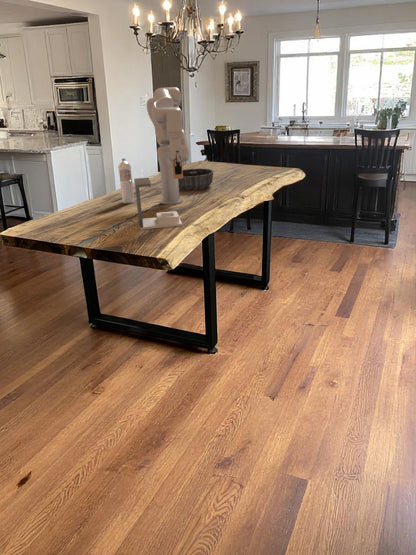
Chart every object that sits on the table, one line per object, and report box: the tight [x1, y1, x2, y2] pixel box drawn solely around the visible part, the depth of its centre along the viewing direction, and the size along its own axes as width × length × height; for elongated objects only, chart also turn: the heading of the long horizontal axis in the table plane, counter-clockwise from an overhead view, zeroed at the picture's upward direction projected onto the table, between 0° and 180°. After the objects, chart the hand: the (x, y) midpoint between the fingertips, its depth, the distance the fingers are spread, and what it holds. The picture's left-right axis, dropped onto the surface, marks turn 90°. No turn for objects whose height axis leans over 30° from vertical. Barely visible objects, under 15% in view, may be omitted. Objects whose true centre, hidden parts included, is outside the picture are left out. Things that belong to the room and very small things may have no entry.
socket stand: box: [138, 210, 183, 231], centre depth 226 cm, size 15×20×4 cm
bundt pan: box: [178, 168, 215, 191], centre depth 295 cm, size 26×26×10 cm
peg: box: [172, 159, 184, 179], centre depth 231 cm, size 4×4×9 cm
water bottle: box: [118, 158, 135, 205], centre depth 263 cm, size 7×7×25 cm
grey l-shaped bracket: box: [133, 177, 152, 229], centre depth 221 cm, size 15×7×20 cm, turn 10°
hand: (177, 172), depth 232 cm, fingers closed on peg, 4 cm apart
